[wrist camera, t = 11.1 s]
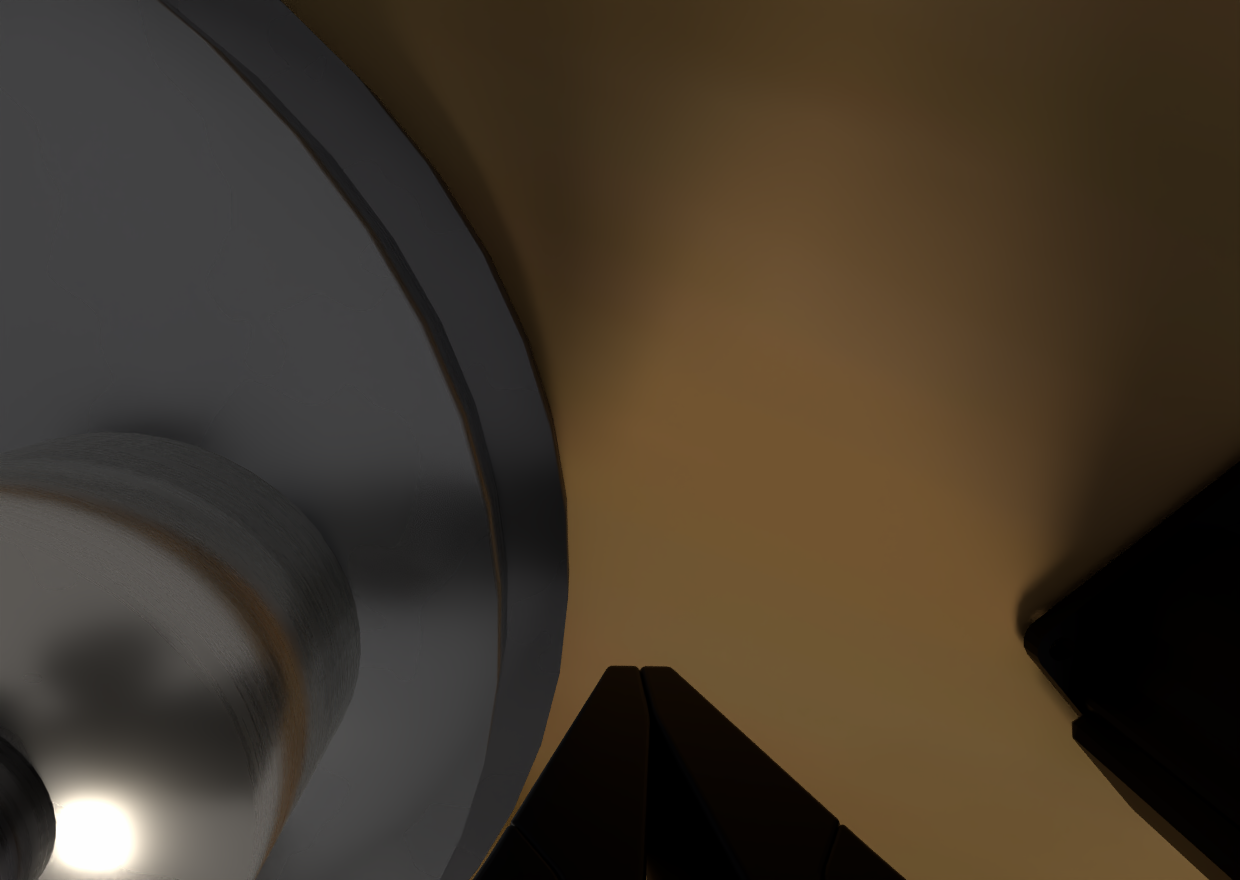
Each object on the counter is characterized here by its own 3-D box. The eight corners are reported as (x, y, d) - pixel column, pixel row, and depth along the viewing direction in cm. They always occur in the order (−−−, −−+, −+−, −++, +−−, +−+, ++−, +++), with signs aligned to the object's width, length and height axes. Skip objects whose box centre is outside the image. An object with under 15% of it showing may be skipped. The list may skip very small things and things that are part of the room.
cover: (-142, 439, 8) (-733, 554, 4) (337, 425, 9) (155, 520, 5) (-30, 829, 9) (-418, 1171, 6) (380, 803, 10) (263, 1103, 6)
